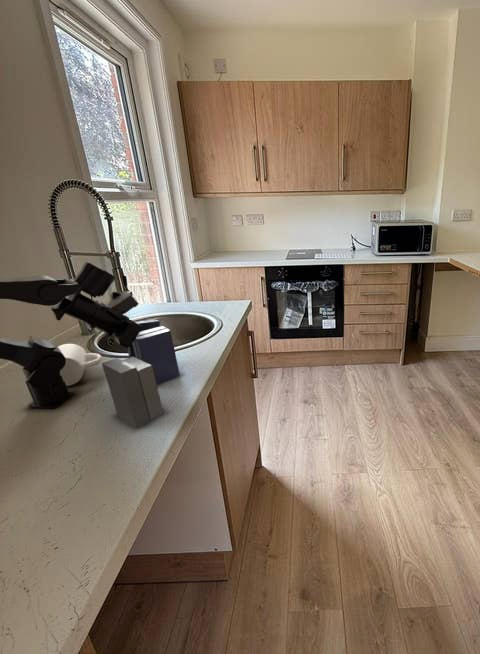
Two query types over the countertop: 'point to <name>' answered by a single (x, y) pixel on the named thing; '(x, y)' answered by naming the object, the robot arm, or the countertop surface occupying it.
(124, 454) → the countertop surface
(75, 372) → the mug
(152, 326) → the navy book
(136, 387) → the grey books
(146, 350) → the navy books
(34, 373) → the robot arm
